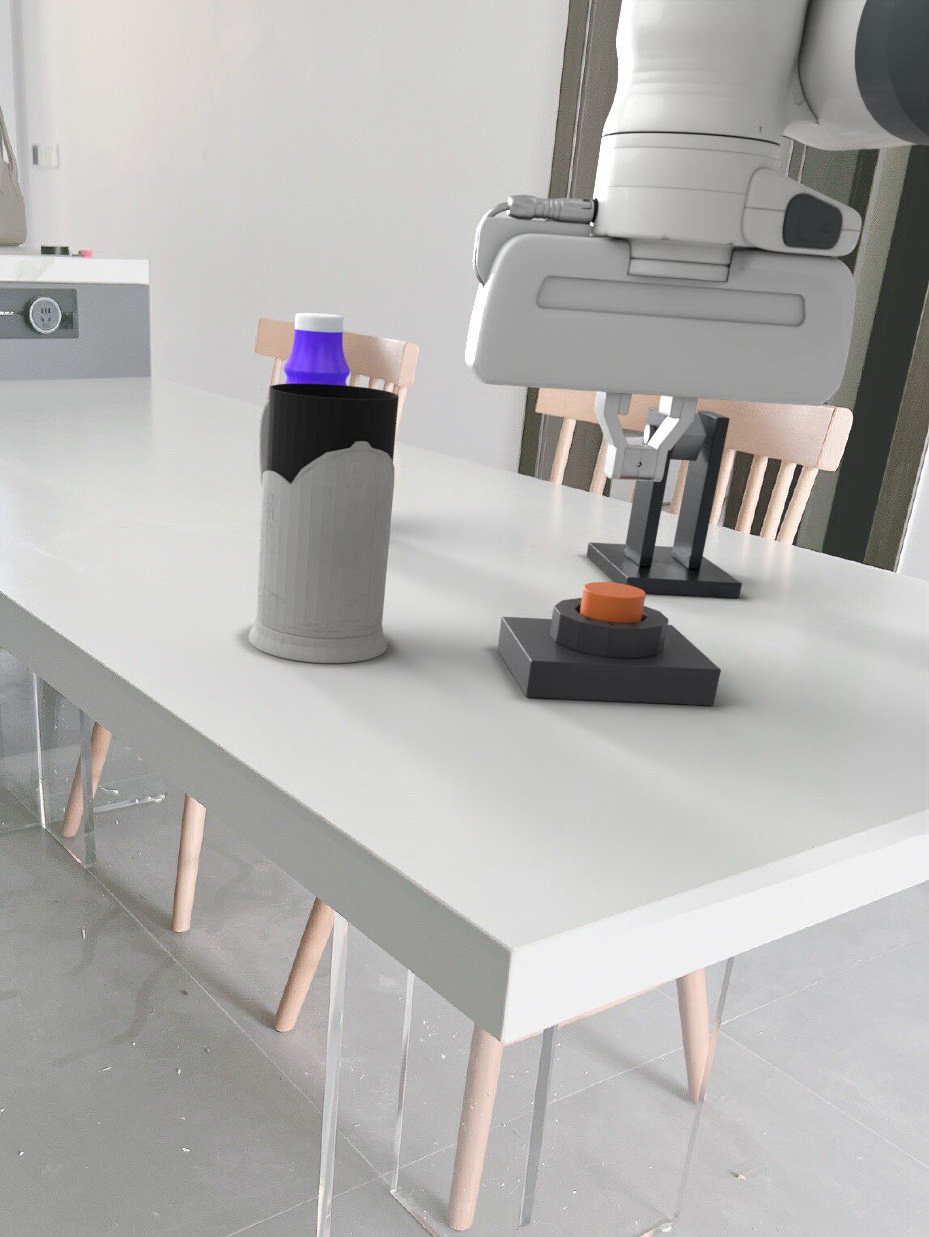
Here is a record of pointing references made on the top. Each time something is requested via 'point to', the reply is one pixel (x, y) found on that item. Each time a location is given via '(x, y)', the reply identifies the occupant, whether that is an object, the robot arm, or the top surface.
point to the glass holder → (324, 521)
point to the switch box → (606, 659)
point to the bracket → (684, 561)
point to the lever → (690, 442)
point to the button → (612, 602)
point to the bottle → (317, 351)
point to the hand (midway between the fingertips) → (632, 479)
